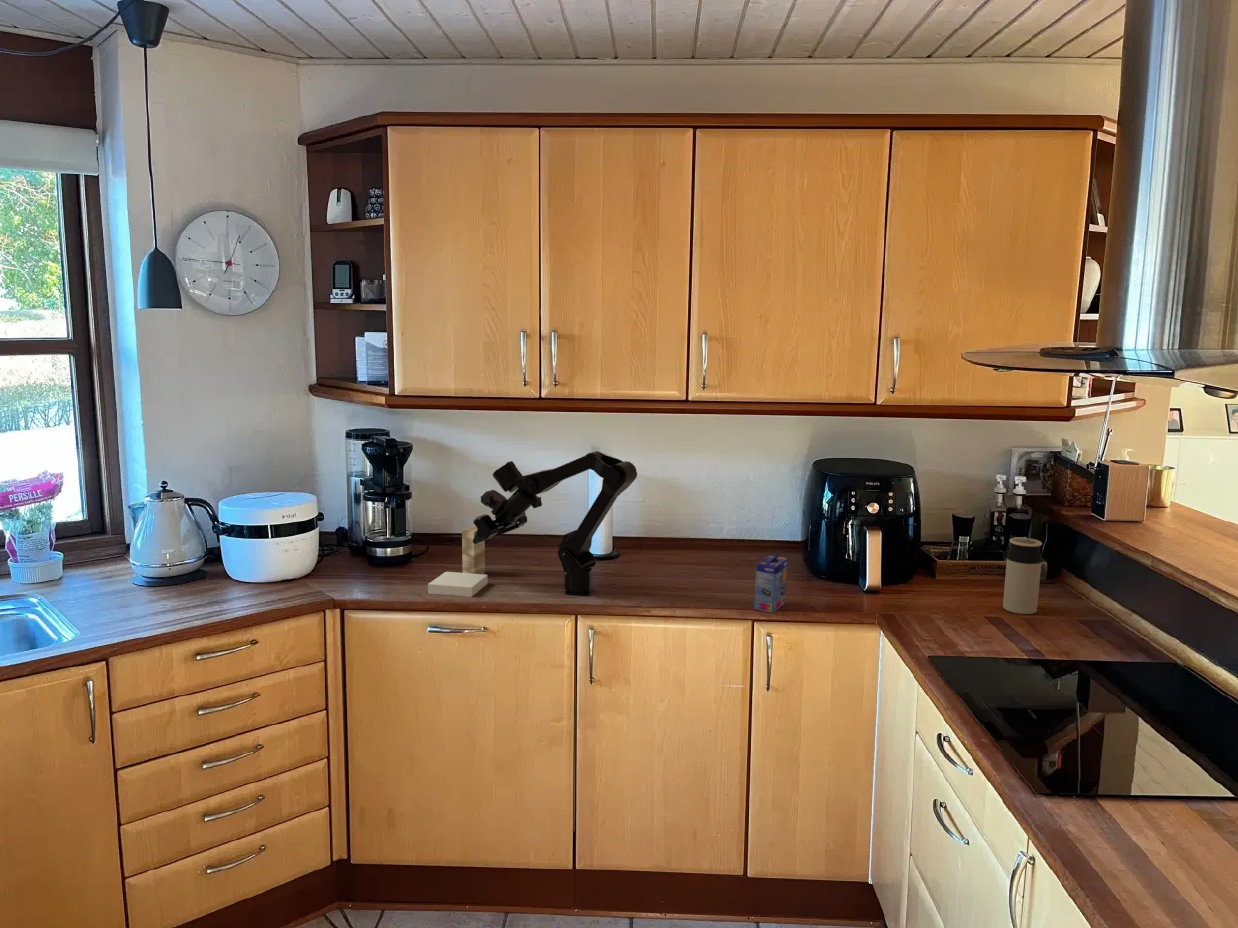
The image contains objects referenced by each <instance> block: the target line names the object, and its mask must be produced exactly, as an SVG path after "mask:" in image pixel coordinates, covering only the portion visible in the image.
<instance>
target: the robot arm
mask: <svg viewBox="0 0 1238 928" xmlns="http://www.w3.org/2000/svg"><path fill="white" fill-rule="evenodd" d="M589 470H592V471H593V472H594V473H595V474H596V475H597V476H598V477H600V478H602V484H601V490H600V491H599V494H598V495H597V497H596V498H595V499H594V502H593V503H592V505H591V507H590V508H589V509H588V512H587V513H586V514H585V516H584V518H583V519H582V521H581V522H580V524H579V526H578V527H577V529H575V530H572V531H570V532H567V533H565V534H564V535H563V537H562V539H561V542H560V543H559V544H558V545H557V547H558V549H557V556H558V559H559V561H560V563H561V566H562V570H563V572H564V573H565V574H564V590H565V591H564V594H565V595H575V596H587V597H588V596H590V595H591V593H592V591H593V590H594V589H595V588H594V586H593V568H594V567H595V566H596V563H597V558H596V557H595V556H594V554H593V553H592V552H591V547H592V542H593V536H594V535H595V533H596V532H597V530H598V528H599V527H600V525H601V523H602V522H603V521H604V519H605V517H606V516H607V514H608V512H609V511H610V510H611V508H612V506H613V505H614V503H615V502H616V500H617V499H618V497H619V496H620V495H621V494H622V493H624V491H626V490H627V489H628V488H629V487H630V486H631V485H632V484H633V483H634V482H635V480H636V479H637V477H638V472H637V467H636V465H634V464H633V463H632V462H631V461H623V460H621V459H619V458H616V457H613V456H610V455H607V454H606V453H603V452H602V451H599V450H597V451H592V452H588V453H586V455H584V456H580V457H579V458H576V459H574V460H572V461H569V462H567V463H564V464H562V465H559V466H557V467H555V468H549V469H544V470H540V471H536V472H533V473H530V474H529V473H528V474H526V475H523V474H522V472H521V471H520V470H519V469H518V467H517V466H516V464H515V463H514V462H513V461H512V460H511V461H507V462H506V463H505V464H502V466H501V467H499V468H496V470H495V471H494V472H493V473H492V477H493V478H494V480H495V481H496V482H497V484H498V485H499V486H500V488H501V489H502V490H503V492H505V493H507V492H509V493H512V494H511V496H509V497H508V498H506V496H504V495H503V494H502V493H499V492H498V491H497V490H494V489H491V490H487V491H485V492H484V493H483V494H482V495H481V496H480V503H481V504H482V505H484V506H485V507H488V508H489V509H491V511H490V513H491V514H492V515H493V516H494V519H492V517H491V516H490V515H489V514H483V515H479V516H476V518H475V519H474V520H473V525H474V526H475V527H477V532H476V534H475V536H474V539H473V543H474V544H477V543H479V542H482V541H484V540H485V541H487V540H489V539H491V538H492V539H493V538H495V537H498V536H501V535H503V534H506V533H508V532H511V531H514V530H517V529H520V527H523V526H525V524H527V522H528V516H527V515H526V512H527V510H528V509H530V507H532V508H533V509H537V508H540V507H542V506H543V503H542V497H541V496H538V495H539V494H543V493H547V492H549V491H550V490H552V489H554V488H555V487H556V486H558V485H559V484H561V482H563V481H564V480H567V479H569V478H571V477H574V476H576V475H579V474H581V473H584V472H587V471H589Z"/></svg>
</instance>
